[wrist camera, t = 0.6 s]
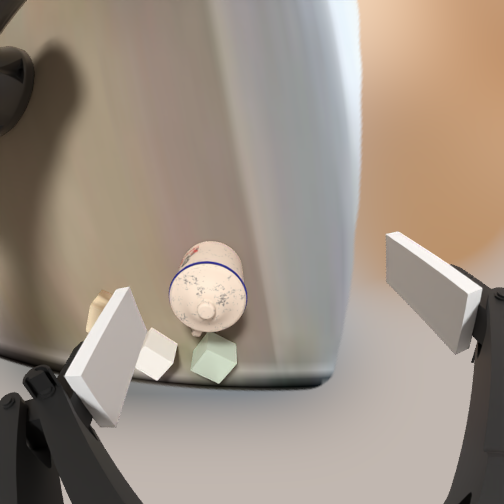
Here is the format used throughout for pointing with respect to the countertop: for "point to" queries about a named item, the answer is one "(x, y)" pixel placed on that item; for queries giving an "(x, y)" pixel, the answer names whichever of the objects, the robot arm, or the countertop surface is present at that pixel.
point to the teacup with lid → (209, 288)
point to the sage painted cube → (214, 357)
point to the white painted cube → (156, 354)
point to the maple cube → (97, 308)
